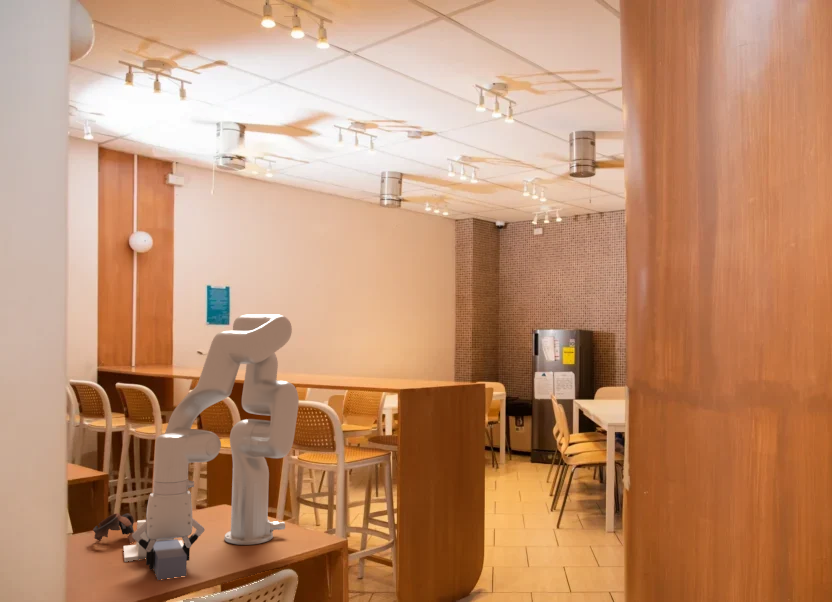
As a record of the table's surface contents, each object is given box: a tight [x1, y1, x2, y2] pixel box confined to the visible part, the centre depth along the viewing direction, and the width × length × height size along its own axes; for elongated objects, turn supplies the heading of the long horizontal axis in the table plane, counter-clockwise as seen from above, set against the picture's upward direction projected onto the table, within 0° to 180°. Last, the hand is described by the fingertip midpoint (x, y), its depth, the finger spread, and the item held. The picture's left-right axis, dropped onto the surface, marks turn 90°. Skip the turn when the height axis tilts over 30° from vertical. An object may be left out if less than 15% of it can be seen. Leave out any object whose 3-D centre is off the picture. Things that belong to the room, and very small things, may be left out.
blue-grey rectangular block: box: [152, 538, 188, 581], centre depth 161 cm, size 6×14×5 cm, turn 27°
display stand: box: [123, 519, 184, 563], centre depth 173 cm, size 14×10×7 cm
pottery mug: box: [92, 512, 136, 544], centre depth 183 cm, size 12×10×8 cm
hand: (167, 565), depth 161 cm, fingers open, 6 cm apart
